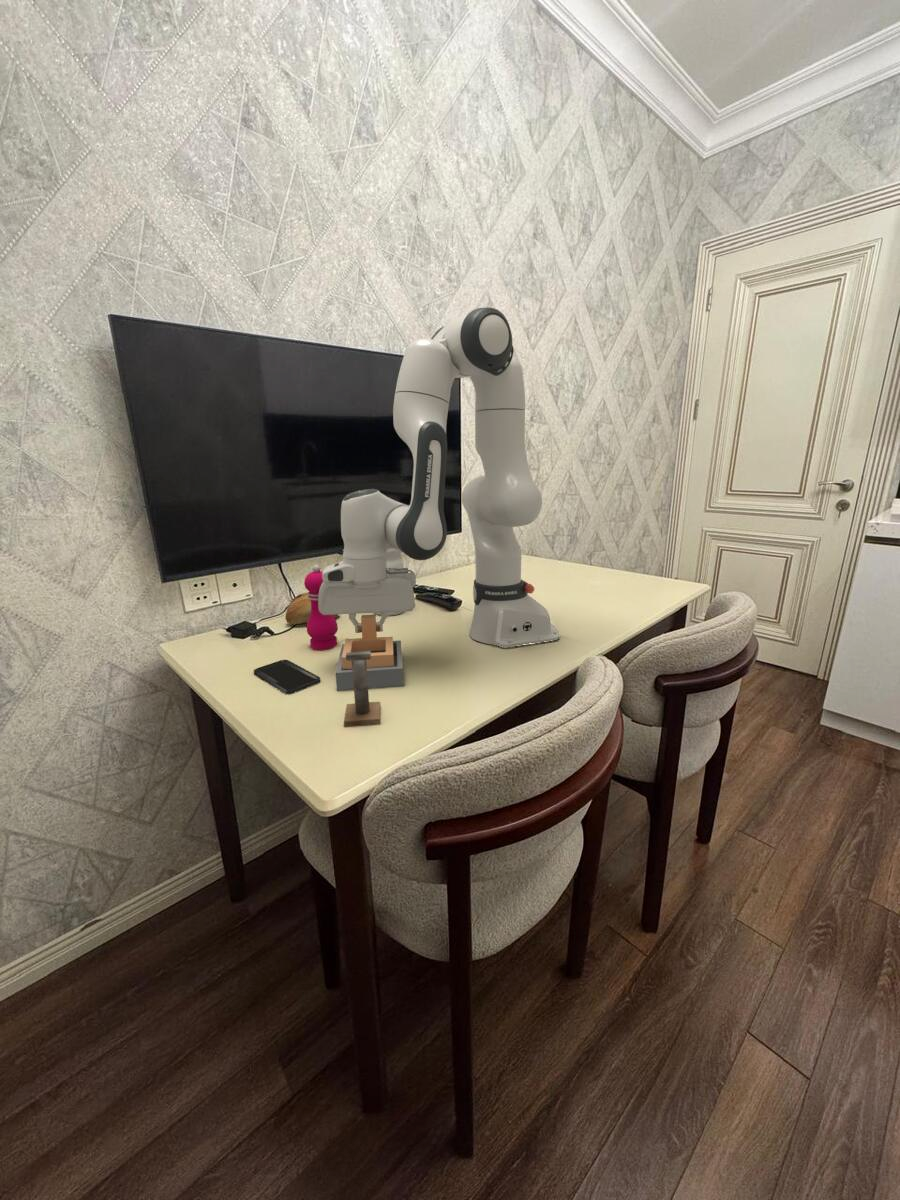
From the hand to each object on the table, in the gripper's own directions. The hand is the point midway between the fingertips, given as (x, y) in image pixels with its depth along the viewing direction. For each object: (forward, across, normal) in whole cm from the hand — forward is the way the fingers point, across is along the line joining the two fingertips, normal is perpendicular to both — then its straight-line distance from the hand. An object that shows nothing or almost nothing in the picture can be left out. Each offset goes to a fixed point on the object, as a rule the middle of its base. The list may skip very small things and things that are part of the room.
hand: (369, 631), depth 103 cm
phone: (+8, +17, +5) cm, 20 cm away
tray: (+7, 0, +5) cm, 9 cm away
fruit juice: (+7, -4, -36) cm, 37 cm away
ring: (+4, 0, +5) cm, 6 cm away
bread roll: (+8, +17, -32) cm, 37 cm away
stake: (+7, +1, +23) cm, 24 cm away
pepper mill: (+8, +12, -12) cm, 19 cm away
